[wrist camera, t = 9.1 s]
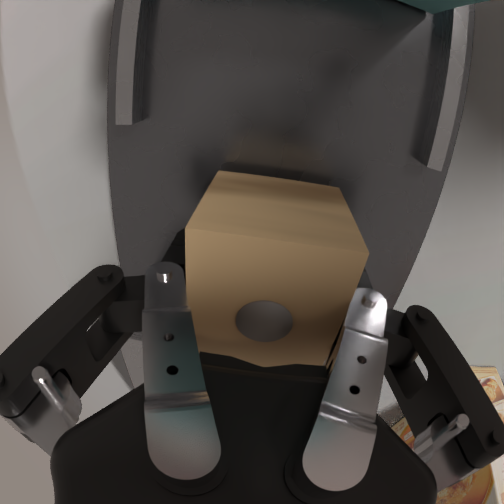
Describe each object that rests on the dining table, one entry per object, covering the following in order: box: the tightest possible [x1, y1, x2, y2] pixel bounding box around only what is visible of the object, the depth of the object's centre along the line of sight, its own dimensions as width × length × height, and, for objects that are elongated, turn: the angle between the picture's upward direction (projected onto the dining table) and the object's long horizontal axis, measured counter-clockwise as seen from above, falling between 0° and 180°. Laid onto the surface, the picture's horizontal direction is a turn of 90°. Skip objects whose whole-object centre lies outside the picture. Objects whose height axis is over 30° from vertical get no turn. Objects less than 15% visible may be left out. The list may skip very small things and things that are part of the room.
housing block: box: [185, 171, 369, 367], centre depth 12 cm, size 6×5×5 cm
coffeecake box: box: [391, 366, 504, 504], centre depth 18 cm, size 15×7×20 cm, turn 167°
